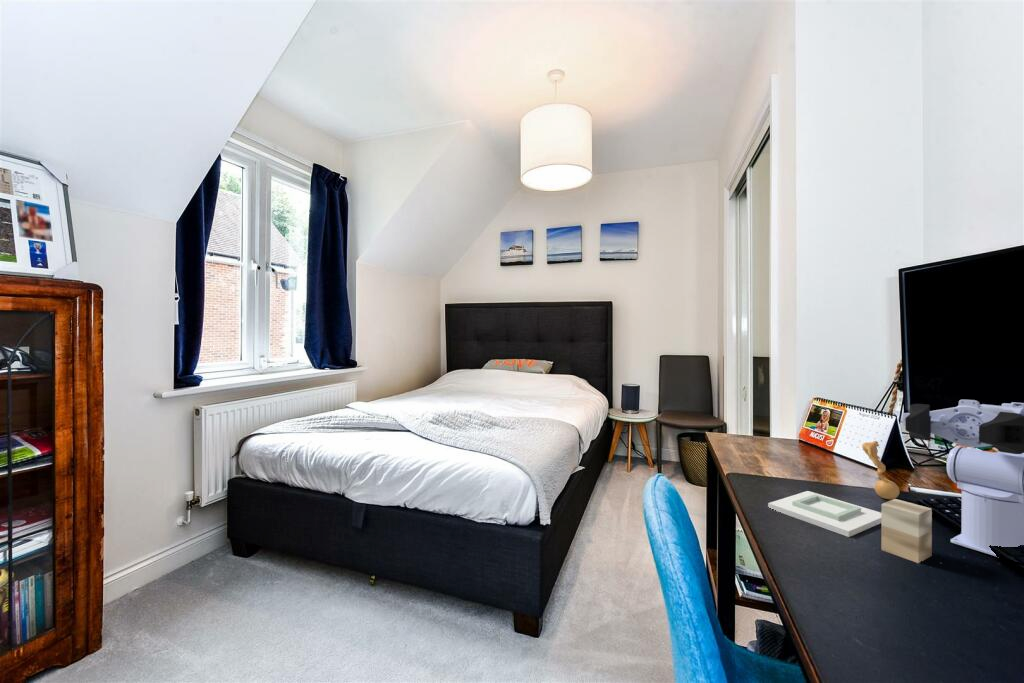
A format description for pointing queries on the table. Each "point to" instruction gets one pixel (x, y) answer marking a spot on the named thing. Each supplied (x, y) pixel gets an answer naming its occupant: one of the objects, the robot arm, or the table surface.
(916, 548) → the block stack
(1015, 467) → the robot arm
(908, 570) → the table surface
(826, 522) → the collar board
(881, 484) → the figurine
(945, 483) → the table surface
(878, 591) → the table surface
